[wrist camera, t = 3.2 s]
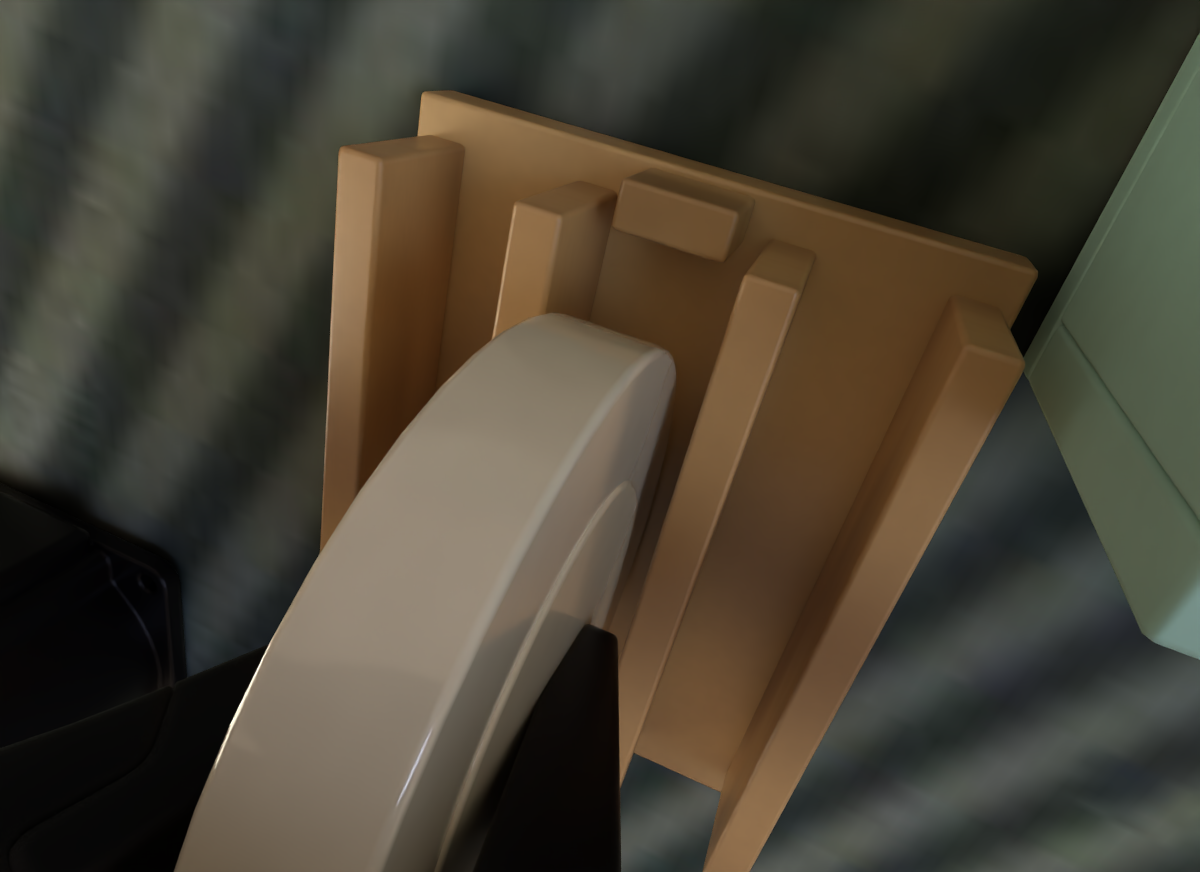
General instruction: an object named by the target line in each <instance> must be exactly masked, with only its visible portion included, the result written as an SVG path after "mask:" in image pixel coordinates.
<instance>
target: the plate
mask: <svg viewBox="0 0 1200 872" xmlns="http://www.w3.org/2000/svg"><path fill="white" fill-rule="evenodd" d="M675 396H676V366H675V362H674V358H673V356H672V355H671V354H670V353H669V352H668V351H667V350H666V349H665V348H664V347H663V346H660V345H657V344H654V343H651V342H648V341H645V340H643V339H640V338H637V337H634V336H631V335H628V334H625V333H622V332H619V331H616V330H613V329H610V328H608V327H605V326H602V325H599V324H596V323H593V322H590V321H587V320H584V319H581V318H578V317H575V316H573V315H569V314H563V313H556V312H552V313H546V314H541V315H537V316H533V317H529V318H527V319H525V320H523V321H521V322H519V323H517V324H515V325H513V326H512V327H510V328H508V329H506V330H504V331H503V332H502V333H500V334H499V335H498V336H496V337H495V338H494V339H492V340H491V341H490V342H489V343H487V344H486V345H485V346H483V347H482V348H481V349H480V350H478V351H477V352H476V353H475V354H474V355H472V356H471V357H470V358H469V359H468V360H467V361H466V362H465V363H464V364H463V365H462V366H461V367H460V368H459V369H458V370H457V371H456V372H455V373H454V374H453V375H452V376H451V377H450V378H449V379H448V380H447V381H446V382H445V383H444V384H443V385H442V386H441V387H440V388H439V390H438V391H437V392H436V393H435V394H434V395H433V397H432V398H431V399H430V400H429V401H428V403H427V404H426V405H425V406H424V407H423V408H422V410H421V411H420V412H419V413H418V414H417V416H416V417H415V418H414V419H413V420H412V422H411V423H410V424H409V425H408V426H407V427H406V429H405V430H404V431H403V432H402V433H401V435H400V436H399V438H398V439H397V440H396V442H395V443H394V444H393V446H392V447H391V449H390V450H389V451H388V453H387V454H386V455H385V457H384V458H383V460H382V461H381V462H380V464H379V465H378V467H377V468H376V469H375V471H374V472H373V473H372V475H371V476H370V478H369V479H368V480H367V482H366V483H365V484H364V486H363V487H362V489H361V490H360V491H359V493H358V494H357V496H356V498H355V499H354V501H353V502H352V504H351V505H350V507H349V509H348V510H347V512H346V513H345V515H344V516H343V518H342V520H341V521H340V523H339V524H338V526H337V528H336V529H335V531H334V532H333V534H332V535H331V537H330V539H329V540H328V542H327V543H326V545H325V546H324V548H323V550H322V551H321V553H320V554H319V556H318V557H317V559H316V561H315V562H314V564H313V566H312V568H311V569H310V571H309V573H308V575H307V577H306V578H305V580H304V582H303V584H302V586H301V587H300V589H299V591H298V593H297V595H296V596H295V598H294V600H293V602H292V604H291V605H290V607H289V609H288V611H287V613H286V614H285V616H284V618H283V620H282V622H281V623H280V625H279V627H278V629H277V631H276V632H275V634H274V636H273V638H272V640H271V641H270V643H269V646H268V648H267V650H266V652H265V654H264V656H263V658H262V660H261V662H260V664H259V666H258V668H257V670H256V672H255V674H254V676H253V679H252V681H251V683H250V685H249V687H248V689H247V691H246V693H245V695H244V697H243V699H242V701H241V703H240V705H239V707H238V709H237V711H236V714H235V716H234V718H233V720H232V722H231V724H230V726H229V728H228V731H227V733H226V736H225V738H224V740H223V743H222V745H221V748H220V750H219V753H218V755H217V757H216V760H215V762H214V765H213V767H212V769H211V772H210V774H209V777H208V779H207V781H206V784H205V786H204V789H203V791H202V794H201V796H200V798H199V801H198V803H197V806H196V808H195V810H194V813H193V816H192V819H191V822H190V825H189V828H188V831H187V834H186V837H185V840H184V843H183V846H182V849H181V852H180V855H179V858H178V861H177V864H176V867H175V869H174V872H473V869H474V867H475V864H476V861H477V859H478V856H479V854H480V851H481V848H482V846H483V843H484V840H485V838H486V835H487V833H488V830H489V827H490V825H491V822H492V819H493V817H494V814H495V812H496V809H497V806H498V804H499V801H500V798H501V796H502V793H503V791H504V788H505V785H506V783H507V780H508V777H509V775H510V772H511V770H512V767H513V764H514V762H515V759H516V757H517V754H518V751H519V749H520V746H521V743H522V741H523V738H524V736H525V733H526V730H527V728H528V725H529V722H530V720H531V717H532V715H533V712H534V709H535V707H536V705H537V702H538V700H539V698H540V696H541V694H542V692H543V690H544V688H545V687H546V685H547V684H548V682H549V680H550V679H551V677H552V676H553V674H554V672H555V671H556V669H557V668H558V666H559V665H560V663H561V661H562V660H563V658H564V657H565V655H566V653H567V652H568V650H569V649H570V647H571V646H572V644H573V642H574V641H575V639H576V638H577V636H578V635H579V633H580V631H581V630H582V628H583V627H584V626H585V625H587V624H591V625H594V626H596V627H598V628H601V629H603V630H605V631H608V632H609V629H610V626H611V623H612V621H613V618H614V615H615V613H616V610H617V607H618V604H619V601H620V599H621V596H622V593H623V590H624V587H625V584H626V582H627V579H628V576H629V573H630V570H631V567H632V564H633V561H634V558H635V555H636V552H637V549H638V546H639V543H640V540H641V537H642V533H643V530H644V527H645V524H646V521H647V518H648V514H649V511H650V507H651V504H652V501H653V497H654V494H655V490H656V487H657V483H658V479H659V476H660V472H661V468H662V464H663V460H664V456H665V452H666V448H667V444H668V439H669V434H670V429H671V425H672V418H673V412H674V406H675Z"/></svg>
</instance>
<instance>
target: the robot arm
mask: <svg viewBox="0 0 1200 872" xmlns="http://www.w3.org/2000/svg"><path fill="white" fill-rule="evenodd" d="M268 646H269V644H268V645H266V646H263V647H261V648H259V649H256V650H254V651H251V652H249V653H246V654H244V655H241V656H239V657H237V658H234V659H232V660H229V661H227V662H224V663H222V664H220V665H217V666H215V667H212V668H210V669H207V670H205V671H203V672H200V673H198V674H195V675H193V676H190V677H188V678H187V672H186V657H185V643H184V629H183V615H182V601H181V587H180V580H179V576H178V574H177V572H176V570H175V569H174V567H173V566H172V565H171V564H170V563H169V562H168V561H166V560H165V559H163V558H162V557H160V556H157V555H155V554H153V553H151V552H149V551H147V550H144V549H142V548H140V547H138V546H136V545H134V544H131V543H129V542H127V541H125V540H123V539H121V538H118V537H116V536H114V535H112V534H110V533H108V532H105V531H103V530H101V529H99V528H97V527H95V526H92V525H90V524H88V523H86V522H84V521H82V520H79V519H77V518H75V517H73V516H71V515H69V514H66V513H64V512H62V511H60V510H58V509H56V508H53V507H51V506H49V505H47V504H45V503H43V502H40V501H38V500H36V499H34V498H32V497H30V496H27V495H25V494H23V493H21V492H19V491H17V490H14V489H12V488H10V487H8V486H6V485H4V484H1V483H0V872H174V869H175V867H176V864H177V861H178V858H179V855H180V852H181V849H182V846H183V843H184V840H185V837H186V834H187V831H188V828H189V825H190V822H191V819H192V816H193V813H194V810H195V808H196V806H197V803H198V801H199V798H200V796H201V794H202V791H203V789H204V786H205V784H206V781H207V779H208V777H209V774H210V772H211V769H212V767H213V765H214V762H215V760H216V757H217V755H218V753H219V750H220V748H221V745H222V743H223V740H224V738H225V736H226V733H227V731H228V728H229V726H230V724H231V722H232V720H233V718H234V716H235V714H236V711H237V709H238V707H239V705H240V703H241V701H242V699H243V697H244V695H245V693H246V691H247V689H248V687H249V685H250V683H251V681H252V679H253V676H254V674H255V672H256V670H257V668H258V666H259V664H260V662H261V660H262V658H263V656H264V654H265V652H266V650H267V648H268ZM473 872H621V825H620V750H619V676H618V639H617V637H616V636H615V635H614V634H612V633H610V632H608V631H605V630H603V629H601V628H598V627H596V626H594V625H591V624H587V625H585V626H584V627H583V628H582V630H581V631H580V633H579V635H578V636H577V638H576V639H575V641H574V642H573V644H572V646H571V647H570V649H569V650H568V652H567V653H566V655H565V657H564V658H563V660H562V661H561V663H560V665H559V666H558V668H557V669H556V671H555V672H554V674H553V676H552V677H551V679H550V680H549V682H548V684H547V685H546V687H545V688H544V690H543V692H542V694H541V696H540V698H539V700H538V702H537V705H536V707H535V709H534V712H533V715H532V717H531V720H530V722H529V725H528V728H527V730H526V733H525V736H524V738H523V741H522V743H521V746H520V749H519V751H518V754H517V757H516V759H515V762H514V764H513V767H512V770H511V772H510V775H509V777H508V780H507V783H506V785H505V788H504V791H503V793H502V796H501V798H500V801H499V804H498V806H497V809H496V812H495V814H494V817H493V819H492V822H491V825H490V827H489V830H488V833H487V835H486V838H485V840H484V843H483V846H482V848H481V851H480V854H479V856H478V859H477V861H476V864H475V867H474V869H473Z"/></svg>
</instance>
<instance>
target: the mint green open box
mask: <svg viewBox="0 0 1200 872" xmlns="http://www.w3.org/2000/svg"><path fill="white" fill-rule="evenodd" d="M1024 361H1025V369H1024V371H1023V372H1024V374H1025V376H1026V378H1027V379H1028V380H1029V383H1030V385H1031V387H1032V389H1033V392H1034V394H1035V396H1036V398H1037V401H1038V403H1039V405H1040V407H1041V410H1042V412H1043V414H1044V416H1045V418H1046V421H1047V423H1048V425H1049V427H1050V430H1051V432H1052V434H1053V436H1054V438H1055V441H1056V443H1057V445H1058V447H1059V450H1060V452H1061V454H1062V456H1063V458H1064V461H1065V463H1066V465H1067V467H1068V470H1069V472H1070V474H1071V476H1072V478H1073V481H1074V483H1075V485H1076V487H1077V490H1078V492H1079V494H1080V496H1081V499H1082V501H1083V503H1084V505H1085V507H1086V510H1087V512H1088V514H1089V516H1090V519H1091V521H1092V523H1093V525H1094V527H1095V530H1096V532H1097V534H1098V536H1099V539H1100V541H1101V543H1102V545H1103V547H1104V550H1105V552H1106V554H1107V556H1108V559H1109V561H1110V563H1111V565H1112V567H1113V570H1114V572H1115V574H1116V576H1117V579H1118V581H1119V583H1120V585H1121V588H1122V590H1123V592H1124V594H1125V596H1126V599H1127V601H1128V603H1129V605H1130V608H1131V610H1132V612H1133V614H1134V616H1135V619H1136V621H1137V623H1138V625H1139V628H1140V630H1141V632H1142V633H1143V634H1144V635H1145V636H1146V637H1147V638H1149V639H1150V640H1151V641H1153V642H1154V643H1156V644H1159V645H1161V646H1164V647H1167V648H1170V649H1172V650H1175V651H1178V652H1180V653H1183V654H1186V655H1188V656H1191V657H1194V658H1196V659H1199V660H1200V33H1199V35H1198V36H1197V38H1196V40H1195V42H1194V44H1193V46H1192V48H1191V49H1190V51H1189V53H1188V55H1187V57H1186V59H1185V60H1184V62H1183V64H1182V66H1181V68H1180V70H1179V72H1178V73H1177V75H1176V77H1175V79H1174V81H1173V83H1172V84H1171V86H1170V88H1169V90H1168V92H1167V94H1166V96H1165V97H1164V99H1163V101H1162V103H1161V105H1160V107H1159V108H1158V110H1157V112H1156V114H1155V116H1154V118H1153V120H1152V121H1151V123H1150V125H1149V127H1148V129H1147V131H1146V132H1145V134H1144V136H1143V138H1142V140H1141V142H1140V144H1139V145H1138V147H1137V149H1136V151H1135V153H1134V155H1133V156H1132V158H1131V160H1130V162H1129V164H1128V166H1127V168H1126V169H1125V171H1124V173H1123V175H1122V177H1121V179H1120V180H1119V182H1118V184H1117V186H1116V188H1115V190H1114V191H1113V193H1112V195H1111V197H1110V199H1109V201H1108V203H1107V204H1106V206H1105V208H1104V210H1103V212H1102V214H1101V215H1100V217H1099V219H1098V221H1097V223H1096V225H1095V227H1094V228H1093V230H1092V232H1091V234H1090V236H1089V238H1088V239H1087V241H1086V243H1085V245H1084V247H1083V249H1082V251H1081V252H1080V254H1079V256H1078V258H1077V260H1076V262H1075V263H1074V265H1073V267H1072V269H1071V271H1070V273H1069V275H1068V276H1067V278H1066V280H1065V282H1064V284H1063V286H1062V287H1061V289H1060V291H1059V293H1058V295H1057V297H1056V299H1055V300H1054V302H1053V304H1052V306H1051V308H1050V310H1049V311H1048V313H1047V315H1046V317H1045V319H1044V321H1043V323H1042V324H1041V326H1040V328H1039V330H1038V332H1037V334H1036V335H1035V337H1034V339H1033V341H1032V343H1031V345H1030V347H1029V348H1028V350H1027V352H1026V354H1025V356H1024Z"/></svg>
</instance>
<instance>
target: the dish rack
mask: <svg viewBox="0 0 1200 872" xmlns="http://www.w3.org/2000/svg"><path fill="white" fill-rule="evenodd" d="M1037 278H1038V271H1037V270H1036V268H1035V267H1034V266H1033V264H1032V263H1031V262H1030V260H1029V259H1028V258H1026V257H1025V256H1021V255H1018V254H1014V253H1011V252H1008V251H1004V250H1001V249H997V248H994V247H990V246H987V245H983V244H980V243H977V242H973V241H970V240H966V239H963V238H959V237H956V236H952V235H949V234H946V233H942V232H939V231H935V230H932V229H928V228H925V227H921V226H918V225H914V224H911V223H908V222H904V221H901V220H897V219H894V218H890V217H887V216H883V215H880V214H877V213H873V212H870V211H866V210H863V209H859V208H856V207H852V206H849V205H846V204H842V203H839V202H835V201H832V200H828V199H825V198H821V197H818V196H815V195H811V194H808V193H804V192H801V191H797V190H794V189H790V188H787V187H783V186H780V185H777V184H773V183H770V182H766V181H763V180H759V179H756V178H752V177H749V176H746V175H742V174H739V173H735V172H732V171H728V170H725V169H721V168H718V167H715V166H711V165H708V164H704V163H701V162H697V161H694V160H690V159H687V158H684V157H680V156H677V155H673V154H670V153H666V152H663V151H659V150H656V149H652V148H649V147H646V146H642V145H639V144H635V143H632V142H628V141H625V140H621V139H618V138H615V137H611V136H608V135H604V134H601V133H597V132H594V131H590V130H587V129H584V128H580V127H577V126H573V125H570V124H566V123H563V122H559V121H556V120H553V119H549V118H546V117H542V116H539V115H535V114H532V113H528V112H525V111H521V110H518V109H515V108H511V107H508V106H504V105H501V104H497V103H494V102H490V101H487V100H484V99H480V98H477V97H473V96H470V95H466V94H463V93H459V92H456V91H453V90H445V91H426V92H423V94H422V96H421V106H420V116H419V127H418V136H417V137H410V138H402V139H394V140H386V141H378V142H370V143H363V144H355V145H347V146H342V147H341V148H340V150H339V158H338V179H337V201H336V222H335V243H334V265H333V286H332V307H331V329H330V350H329V371H328V393H327V414H326V435H325V457H324V478H323V499H322V521H321V542H320V553H321V551H322V550H323V548H324V546H325V545H326V543H327V542H328V540H329V539H330V537H331V535H332V534H333V532H334V531H335V529H336V528H337V526H338V524H339V523H340V521H341V520H342V518H343V516H344V515H345V513H346V512H347V510H348V509H349V507H350V505H351V504H352V502H353V501H354V499H355V498H356V496H357V494H358V493H359V491H360V490H361V489H362V487H363V486H364V484H365V483H366V482H367V480H368V479H369V478H370V476H371V475H372V473H373V472H374V471H375V469H376V468H377V467H378V465H379V464H380V462H381V461H382V460H383V458H384V457H385V455H386V454H387V453H388V451H389V450H390V449H391V447H392V446H393V444H394V443H395V442H396V440H397V439H398V438H399V436H400V435H401V433H402V432H403V431H404V430H405V429H406V427H407V426H408V425H409V424H410V423H411V422H412V420H413V419H414V418H415V417H416V416H417V414H418V413H419V412H420V411H421V410H422V408H423V407H424V406H425V405H426V404H427V403H428V401H429V400H430V399H431V398H432V397H433V395H434V394H435V393H436V392H437V391H438V390H439V388H440V387H441V386H442V385H443V384H444V383H445V382H446V381H447V380H448V379H449V378H450V377H451V376H452V375H453V374H454V373H455V372H456V371H457V370H458V369H459V368H460V367H461V366H462V365H463V364H464V363H465V362H466V361H467V360H468V359H469V358H470V357H471V356H472V355H474V354H475V353H476V352H477V351H478V350H480V349H481V348H482V347H483V346H485V345H486V344H487V343H489V342H490V341H491V340H492V339H494V338H495V337H496V336H498V335H499V334H500V333H502V332H503V331H504V330H506V329H508V328H510V327H512V326H513V325H515V324H517V323H519V322H521V321H523V320H525V319H527V318H529V317H533V316H537V315H541V314H546V313H552V312H556V313H563V314H569V315H573V316H575V317H578V318H581V319H584V320H587V321H590V322H593V323H596V324H599V325H602V326H605V327H608V328H610V329H613V330H616V331H619V332H622V333H625V334H628V335H631V336H634V337H637V338H640V339H643V340H645V341H648V342H651V343H654V344H657V345H660V346H663V347H664V348H665V349H666V350H667V351H668V352H669V353H670V354H671V355H672V356H673V358H674V362H675V366H676V396H675V406H674V412H673V418H672V425H671V429H670V434H669V439H668V444H667V448H666V452H665V456H664V460H663V464H662V468H661V472H660V476H659V479H658V483H657V487H656V490H655V494H654V497H653V501H652V504H651V507H650V511H649V514H648V518H647V521H646V524H645V527H644V530H643V533H642V537H641V540H640V543H639V546H638V549H637V552H636V555H635V558H634V561H633V564H632V567H631V570H630V573H629V576H628V579H627V582H626V584H625V587H624V590H623V593H622V596H621V599H620V601H619V604H618V607H617V610H616V613H615V615H614V618H613V621H612V623H611V626H610V629H609V632H610V633H612V634H614V635H615V636H616V637H617V639H618V676H619V750H620V788H621V785H622V782H623V780H624V777H625V774H626V772H627V769H628V767H629V764H630V761H631V759H632V756H633V753H636V754H638V755H640V756H642V757H644V758H646V759H649V760H651V761H653V762H655V763H657V764H660V765H662V766H664V767H666V768H668V769H671V770H673V771H675V772H677V773H679V774H682V775H684V776H686V777H688V778H690V779H693V780H695V781H697V782H699V783H701V784H704V785H706V786H708V787H710V788H712V789H715V790H717V791H719V792H721V796H720V800H719V804H718V809H717V813H716V817H715V821H714V825H713V830H712V834H711V838H710V842H709V847H708V851H707V855H706V859H705V863H704V868H703V872H750V870H751V868H752V866H753V864H754V863H755V861H756V859H757V857H758V855H759V853H760V852H761V850H762V848H763V846H764V844H765V842H766V841H767V839H768V837H769V835H770V833H771V832H772V830H773V828H774V826H775V824H776V822H777V821H778V819H779V817H780V815H781V813H782V811H783V810H784V808H785V806H786V804H787V802H788V800H789V799H790V797H791V795H792V793H793V791H794V789H795V788H796V786H797V784H798V782H799V780H800V778H801V777H802V775H803V773H804V771H805V769H806V768H807V766H808V764H809V762H810V760H811V758H812V757H813V755H814V753H815V751H816V749H817V747H818V746H819V744H820V742H821V740H822V738H823V736H824V735H825V733H826V731H827V729H828V727H829V725H830V724H831V722H832V720H833V718H834V716H835V714H836V713H837V711H838V709H839V707H840V705H841V704H842V702H843V700H844V698H845V696H846V694H847V693H848V691H849V689H850V687H851V685H852V683H853V682H854V680H855V678H856V676H857V674H858V672H859V671H860V669H861V667H862V665H863V663H864V661H865V660H866V658H867V656H868V654H869V652H870V651H871V649H872V647H873V645H874V643H875V641H876V640H877V638H878V636H879V634H880V632H881V630H882V629H883V627H884V625H885V623H886V621H887V619H888V618H889V616H890V614H891V612H892V610H893V608H894V607H895V605H896V603H897V601H898V599H899V597H900V596H901V594H902V592H903V590H904V588H905V587H906V585H907V583H908V581H909V579H910V577H911V576H912V574H913V572H914V570H915V568H916V566H917V565H918V563H919V561H920V559H921V557H922V555H923V554H924V552H925V550H926V548H927V546H928V544H929V543H930V541H931V539H932V537H933V535H934V533H935V532H936V530H937V528H938V526H939V524H940V523H941V521H942V519H943V517H944V515H945V513H946V512H947V510H948V508H949V506H950V504H951V502H952V501H953V499H954V497H955V495H956V493H957V491H958V490H959V488H960V486H961V484H962V482H963V480H964V479H965V477H966V475H967V473H968V471H969V469H970V468H971V466H972V464H973V462H974V460H975V459H976V457H977V455H978V453H979V451H980V449H981V448H982V446H983V444H984V442H985V440H986V438H987V437H988V435H989V433H990V431H991V429H992V427H993V426H994V424H995V422H996V420H997V418H998V416H999V415H1000V413H1001V411H1002V409H1003V407H1004V405H1005V404H1006V402H1007V400H1008V398H1009V396H1010V395H1011V393H1012V391H1013V389H1014V387H1015V385H1016V384H1017V382H1018V380H1019V378H1020V376H1021V374H1022V373H1023V371H1024V369H1025V361H1024V358H1023V356H1022V354H1021V352H1020V350H1019V348H1018V346H1017V343H1016V341H1015V339H1014V337H1013V335H1012V333H1011V331H1010V329H1011V327H1012V325H1013V324H1014V322H1015V320H1016V318H1017V316H1018V314H1019V312H1020V310H1021V308H1022V306H1023V304H1024V302H1025V301H1026V299H1027V297H1028V295H1029V293H1030V291H1031V289H1032V287H1033V285H1034V283H1035V281H1036V279H1037Z"/></svg>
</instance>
